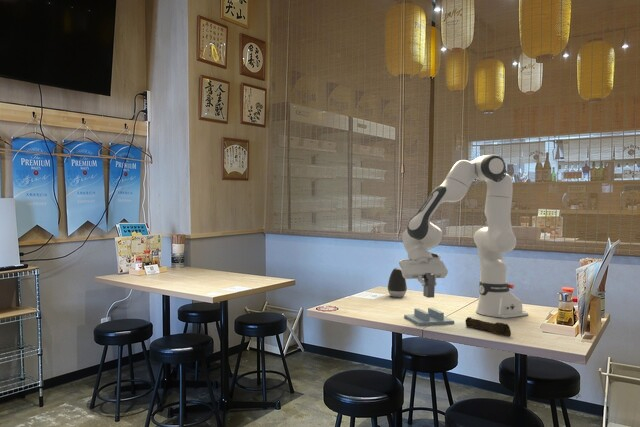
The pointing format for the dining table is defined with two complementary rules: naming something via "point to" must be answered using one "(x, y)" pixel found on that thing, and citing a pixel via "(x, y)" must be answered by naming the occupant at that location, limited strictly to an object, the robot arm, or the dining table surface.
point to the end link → (429, 285)
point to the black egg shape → (397, 283)
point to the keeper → (428, 317)
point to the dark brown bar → (489, 326)
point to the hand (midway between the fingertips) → (429, 285)
